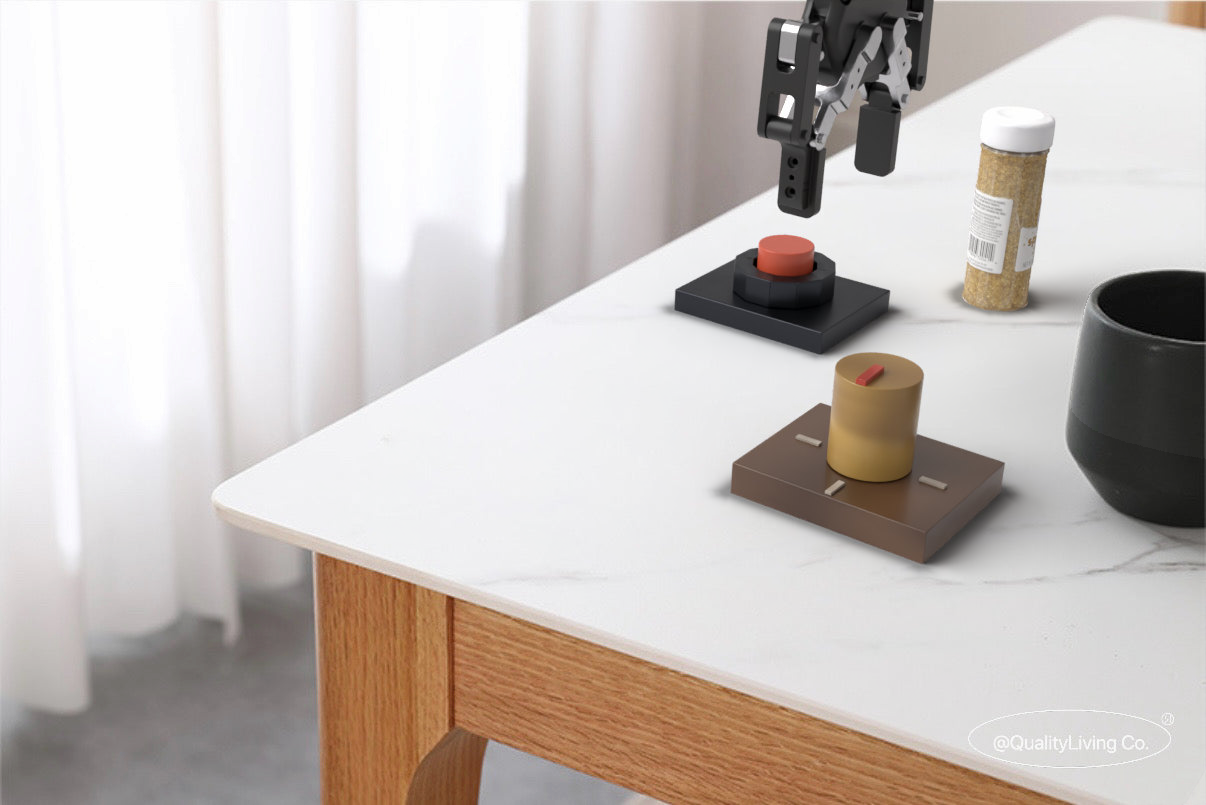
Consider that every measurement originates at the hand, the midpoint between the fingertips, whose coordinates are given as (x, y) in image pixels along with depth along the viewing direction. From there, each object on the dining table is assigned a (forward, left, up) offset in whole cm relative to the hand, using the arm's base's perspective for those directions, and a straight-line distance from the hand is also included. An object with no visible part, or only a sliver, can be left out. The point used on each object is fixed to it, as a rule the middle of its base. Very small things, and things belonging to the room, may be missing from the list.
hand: (836, 192), depth 85 cm
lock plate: (-7, +8, -14) cm, 17 cm away
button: (+9, -10, -10) cm, 17 cm away
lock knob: (-7, +8, -11) cm, 15 cm away
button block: (+9, -10, -14) cm, 19 cm away
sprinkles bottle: (-1, -21, -14) cm, 26 cm away
